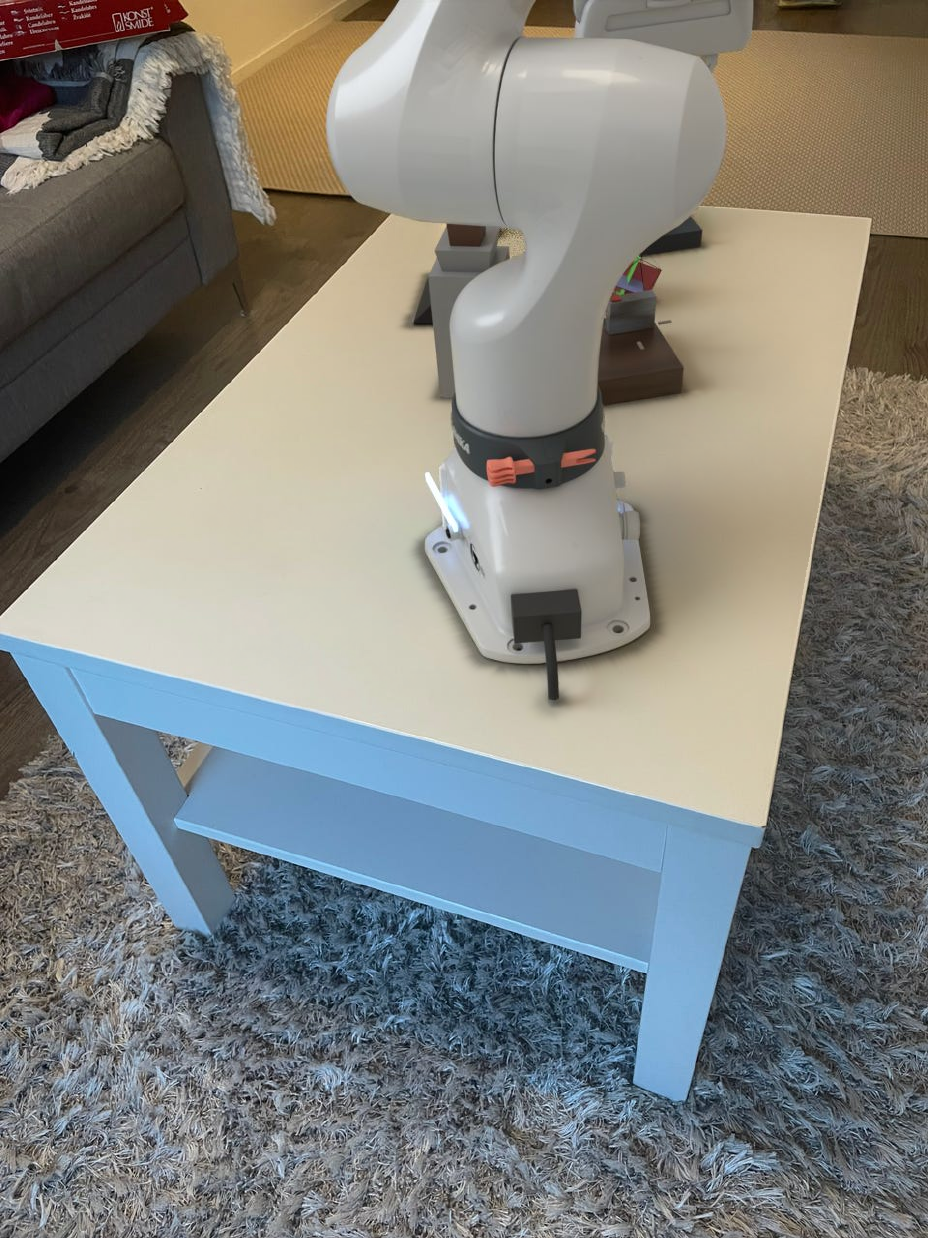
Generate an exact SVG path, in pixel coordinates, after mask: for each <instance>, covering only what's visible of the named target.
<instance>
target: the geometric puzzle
mask: <svg viewBox="0 0 928 1238" xmlns="http://www.w3.org/2000/svg"><path fill="white" fill-rule="evenodd" d="M646 252H647V251H646ZM647 253H648V252H647ZM640 254H641V253H640ZM640 254H639V255H638V257H637V258H636V259H635V260H634V261H633V262H632V263H631V264H630V265H629V267H628V268H627V269H626V271H625V272H624V273H623V275H622V276H621V278H620V280H619V281H618V283H617V285H616V287H615V289H614V291H613V293H612V294H618V295H622V294H628V293H635V292H641V291H647V290H654V287H655V285H656V283H657V281H658V279H659V277H660V275H661V273H662V271H663V269H662V268H661V266H658V267H657V266H656V265H658V263H657V262H656V261H654V263H655V264H656V265H654V264H652V263H649V261H648V262H647V261H646V260H645V259H642V258H643V256H640ZM650 258H651V259H653V257H652V256H650Z"/></svg>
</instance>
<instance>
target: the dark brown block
mask: <svg viewBox="0 0 928 1238" xmlns="http://www.w3.org/2000/svg"><path fill="white" fill-rule="evenodd" d="M605 319H606V317H604V322H603V329H602V336H601V345H600V354H599V367H598V386H599V388H600V391H601V394H602V404H603V406H605V405H611V404H619V403H623V402H630V401H637V400H643V399H649V398H655V397H660V396H668V395H674V394H679V393H680V394H681V393H682V390H683V389H682V388H683V379H684V372H685V371H684V370H685V367H684V365H683V363H682V362H681V360H680V359H679V358H678V356H677V354H676V353H675V351H674V350H673V348H672V346H671V345H670V343H669V341H668V340H667V338H666V337H665V335H664V334H663V331H662V330H660V328H659V325H667V324H672V320H671V319H667V320H662V321H661V320H660V321H658V322H655V326H654V328H650V329H644V330H637V331H631V332H625V333H618V334H612V335H609V334H608V332H607V330H606V328H605Z"/></svg>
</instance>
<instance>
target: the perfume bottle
mask: <svg viewBox="0 0 928 1238" xmlns="http://www.w3.org/2000/svg"><path fill="white" fill-rule="evenodd" d="M445 225H446V226H445V227H444V230H443V232H442V234H441V236H440V238H439V240H438V242H437V244H436V246H435V247H434V254H435V256H436V258H437V259H436V258H435V261H434V262H433V265H432V268H431V269H430V272H429V273H428V275H429V276H428V275H427V277H428V280H429V290H430V299H431V309H432V319H433V326H432V327H433V337H434V347H435V359H436V367H437V375H438V377H437V378H438V386H439V387H438V389H439V397H440V399H441V398H442V399H443V398H444V399H452V398H453V395H454V393H455V381H454V370H453V359H452V348H451V337H450V317H451V313H452V309H453V306H454V304H455V301H456V299H457V297H458V296H459V294H460V293H461V291H462V290H463V289H464V287H465V286H466V285H467V284H468V283H469V282H470V281H472V280H473V279H474V278H475V277H477V276H478V275H479V274H481V273H482V272H484V271H485V270H487V269H489V268H491V267H493V266H494V265H496V264H499V263H501V262H503V261H506V260H508V259H511V254H510V246H509V245H508V246H507V245H498V243H499V238H500V231H501V227H486V226H473V225H459V224H445Z"/></svg>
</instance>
